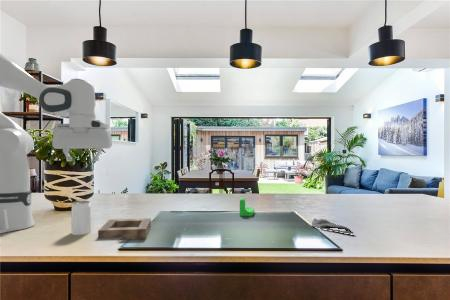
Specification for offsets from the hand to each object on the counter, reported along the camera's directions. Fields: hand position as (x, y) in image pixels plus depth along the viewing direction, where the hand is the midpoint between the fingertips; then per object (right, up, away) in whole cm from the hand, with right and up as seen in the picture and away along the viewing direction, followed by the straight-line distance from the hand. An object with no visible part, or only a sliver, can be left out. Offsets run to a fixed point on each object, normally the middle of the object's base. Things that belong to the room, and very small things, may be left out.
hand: (82, 161), depth 109 cm
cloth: (+96, -28, +14) cm, 101 cm away
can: (0, -27, -1) cm, 27 cm away
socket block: (+16, -27, +1) cm, 31 cm away
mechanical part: (+64, -28, +38) cm, 79 cm away
